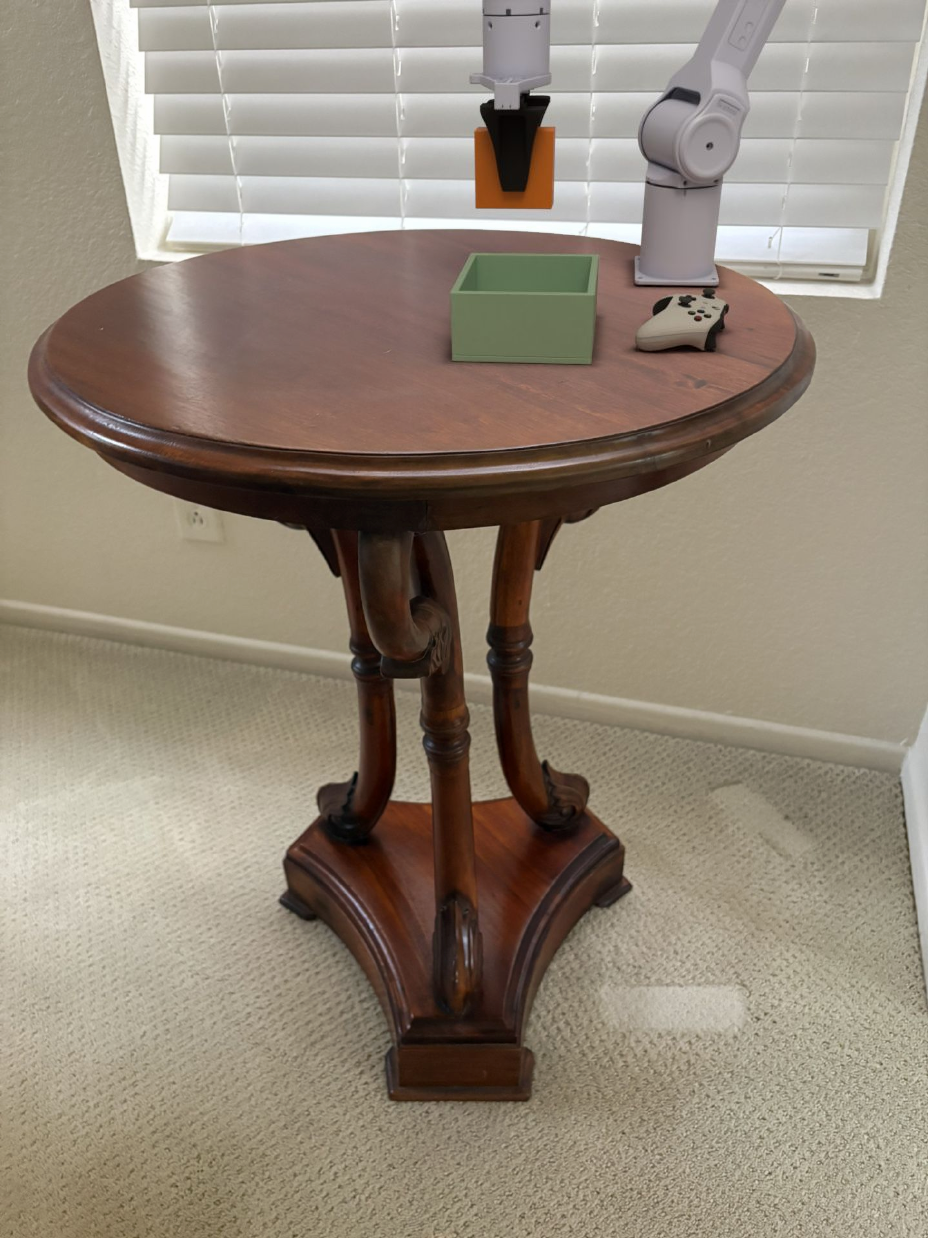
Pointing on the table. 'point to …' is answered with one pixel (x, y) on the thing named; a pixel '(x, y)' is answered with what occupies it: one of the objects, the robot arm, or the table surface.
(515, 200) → the block
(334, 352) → the table surface
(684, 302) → the game controller
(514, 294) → the bin
